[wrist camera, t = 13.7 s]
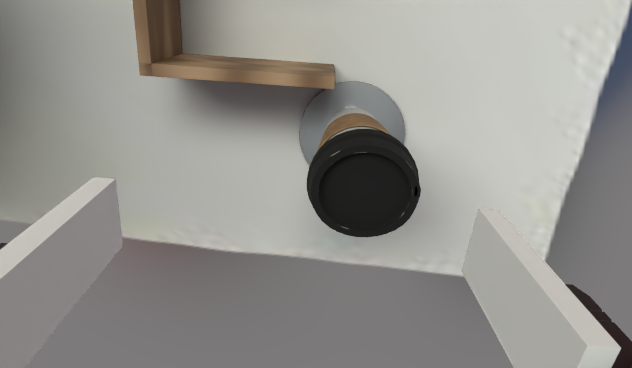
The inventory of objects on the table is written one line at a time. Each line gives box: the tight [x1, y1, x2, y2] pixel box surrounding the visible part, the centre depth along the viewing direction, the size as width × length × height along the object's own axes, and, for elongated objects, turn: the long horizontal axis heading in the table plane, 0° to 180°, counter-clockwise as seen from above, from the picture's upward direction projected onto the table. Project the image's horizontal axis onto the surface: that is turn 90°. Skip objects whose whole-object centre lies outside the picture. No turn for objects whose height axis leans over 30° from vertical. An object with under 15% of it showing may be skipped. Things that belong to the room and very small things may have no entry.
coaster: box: [299, 82, 405, 164], centre depth 44 cm, size 11×11×1 cm
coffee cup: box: [307, 108, 421, 237], centre depth 36 cm, size 8×8×15 cm
